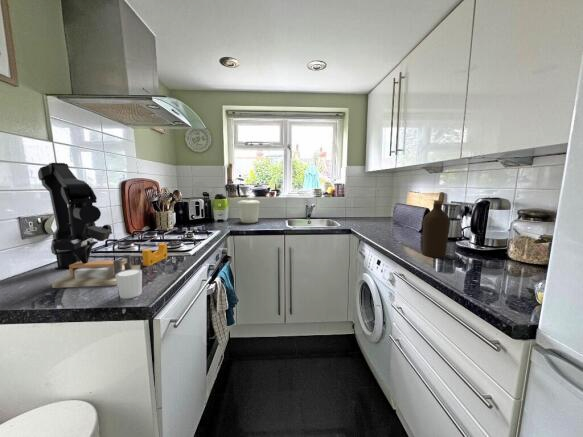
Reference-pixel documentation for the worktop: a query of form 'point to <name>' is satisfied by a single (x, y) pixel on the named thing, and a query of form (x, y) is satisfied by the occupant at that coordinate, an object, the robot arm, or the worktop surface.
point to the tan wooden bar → (93, 264)
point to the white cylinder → (129, 283)
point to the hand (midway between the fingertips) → (85, 263)
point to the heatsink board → (88, 281)
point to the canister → (248, 210)
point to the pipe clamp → (154, 255)
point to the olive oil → (435, 232)
